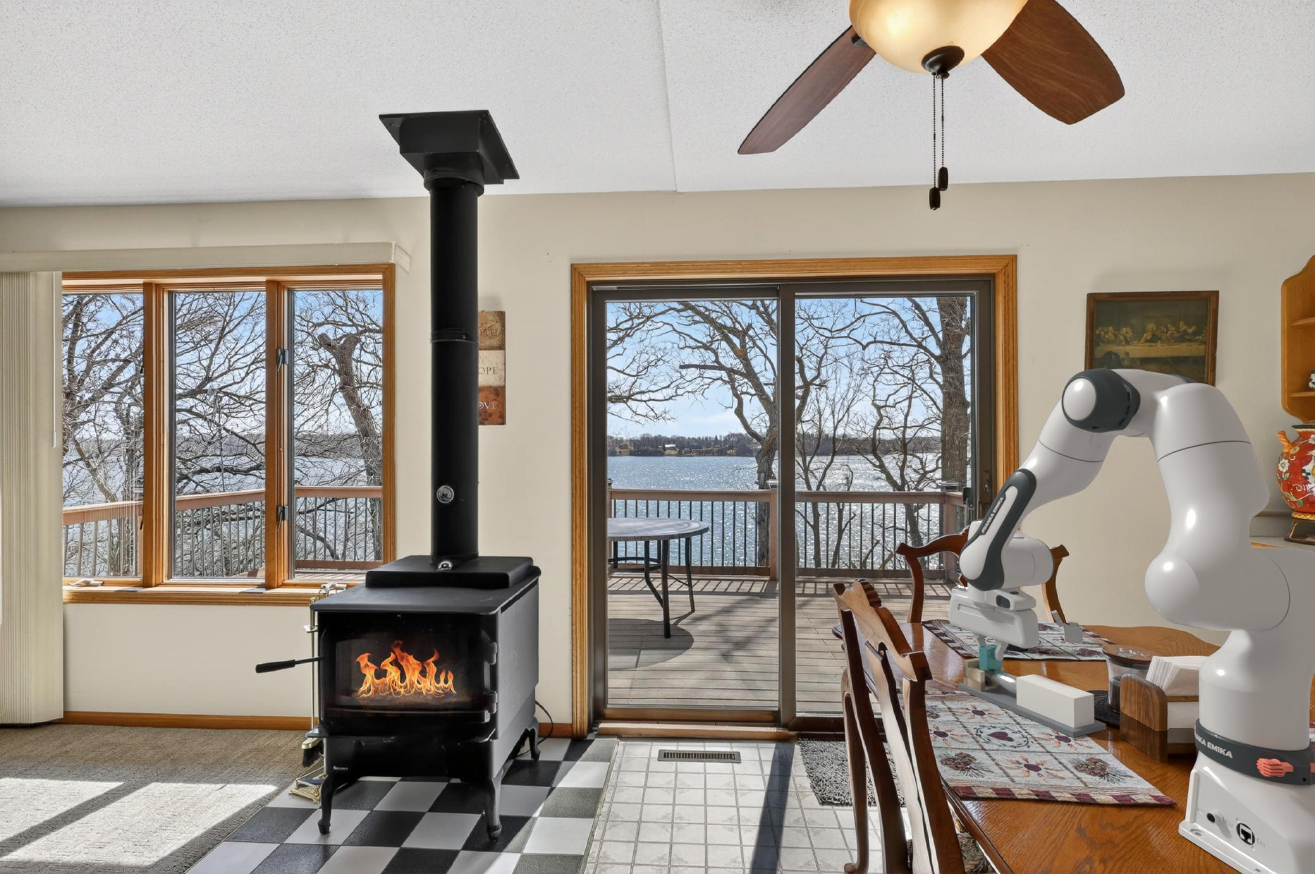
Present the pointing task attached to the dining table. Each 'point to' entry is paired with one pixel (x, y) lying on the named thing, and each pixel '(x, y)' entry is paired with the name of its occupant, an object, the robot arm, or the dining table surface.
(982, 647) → the slip tube
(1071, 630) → the lighter
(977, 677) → the socket block
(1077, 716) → the tube stand
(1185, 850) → the dining table surface
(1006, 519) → the robot arm
